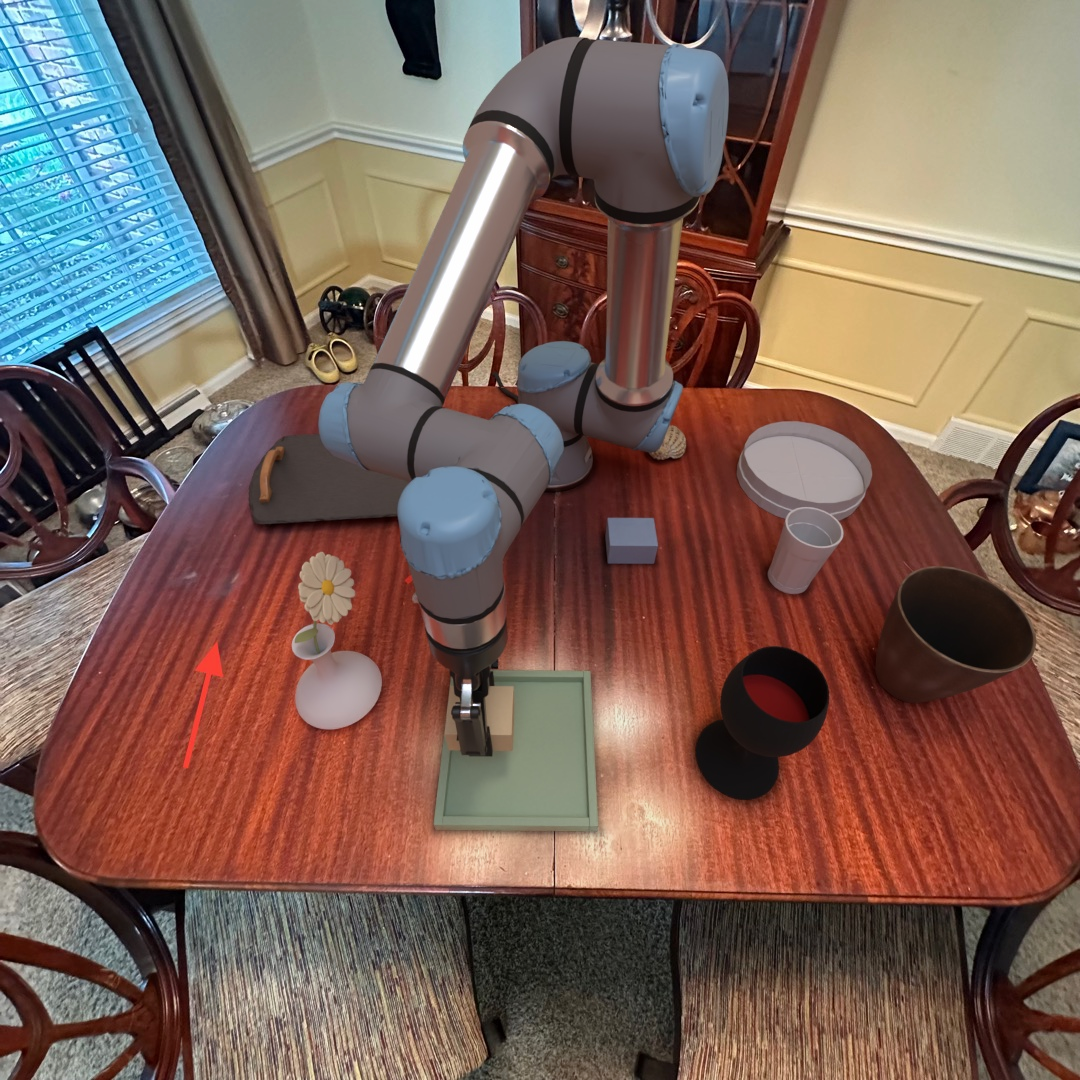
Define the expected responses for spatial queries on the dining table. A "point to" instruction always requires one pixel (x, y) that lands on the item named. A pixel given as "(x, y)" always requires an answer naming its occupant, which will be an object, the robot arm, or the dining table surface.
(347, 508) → the serving tray
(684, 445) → the seashell
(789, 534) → the cup
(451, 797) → the frame
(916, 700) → the flower pot
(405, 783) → the dining table surface
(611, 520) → the blue pad
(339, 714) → the flower in vase
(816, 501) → the dish
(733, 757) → the wine glass
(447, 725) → the tan pad
